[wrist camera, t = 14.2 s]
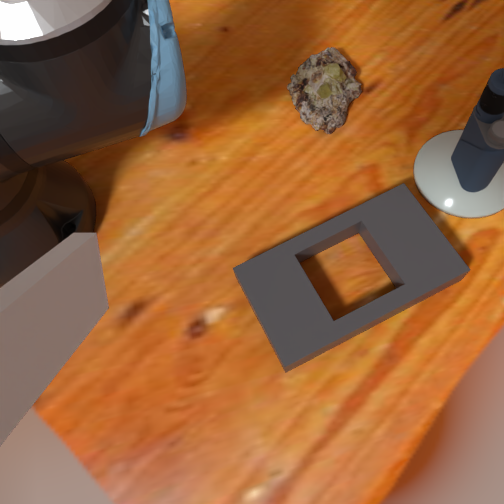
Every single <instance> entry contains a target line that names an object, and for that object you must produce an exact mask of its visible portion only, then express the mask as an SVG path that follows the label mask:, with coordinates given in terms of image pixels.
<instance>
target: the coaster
mask: <svg viewBox="0 0 504 504" xmlns="http://www.w3.org/2000/svg"><path fill="white" fill-rule="evenodd" d="M463 131H464V130H454V131H448V132H445V133H441V134H439V135H437V136H435V137H433V138H431V139H430V140H429V141H427V142H426V143H425V144H424V145H423V146H422V148H421V149H420V151H419V152H418V154H417V157H416V160H415V163H414V168H413V174H414V180H415V183H416V186H417V188H418V190H419V191H420V193H421V194H422V196H423V197H424V198H425V199H426V200H427V201H428V202H429V203H430V204H431V205H433V206H434V207H435V208H437V209H439V210H441V211H442V212H444V213H447V214H449V215H453V216H456V217H461V218H482V217H487V216H491V215H493V214H496V213H498V212H500V211H501V210H503V209H504V162H503V164H502V165H501V167H500V168H499V170H498V171H497V173H496V175H495V176H494V178H493V179H492V181H491V182H490V184H489V185H488V186H487V187H486V188H485V189H483V190H481V191H479V192H468V191H465V190H464V189H463V188H462V187H461V185H460V183H459V180H458V177H457V174H456V172H455V169H454V166H453V164H452V161H451V156H452V154H453V152H454V149H455V147H456V145H457V143H458V141H459V139H460V137H461V135H462V133H463Z"/></svg>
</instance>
